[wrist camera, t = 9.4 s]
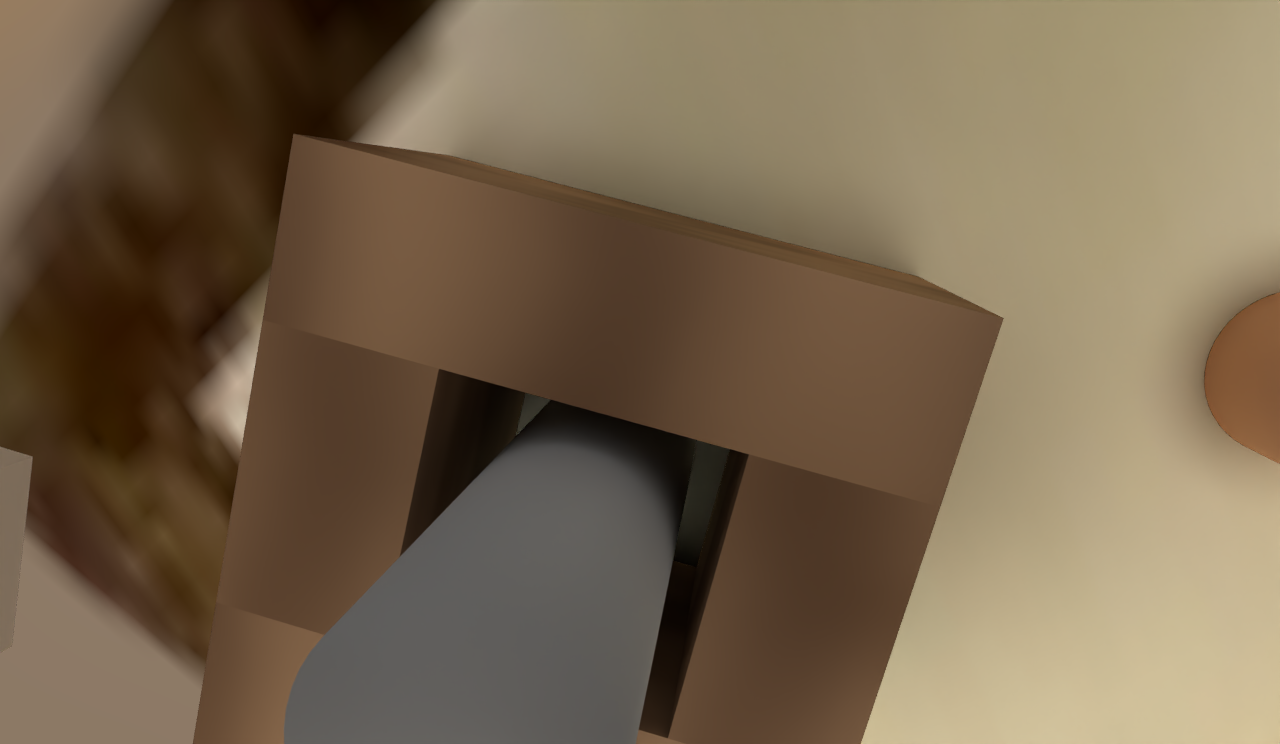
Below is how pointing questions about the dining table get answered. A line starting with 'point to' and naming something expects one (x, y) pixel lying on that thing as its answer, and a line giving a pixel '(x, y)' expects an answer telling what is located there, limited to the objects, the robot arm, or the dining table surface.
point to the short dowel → (1248, 377)
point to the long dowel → (514, 601)
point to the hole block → (601, 382)
